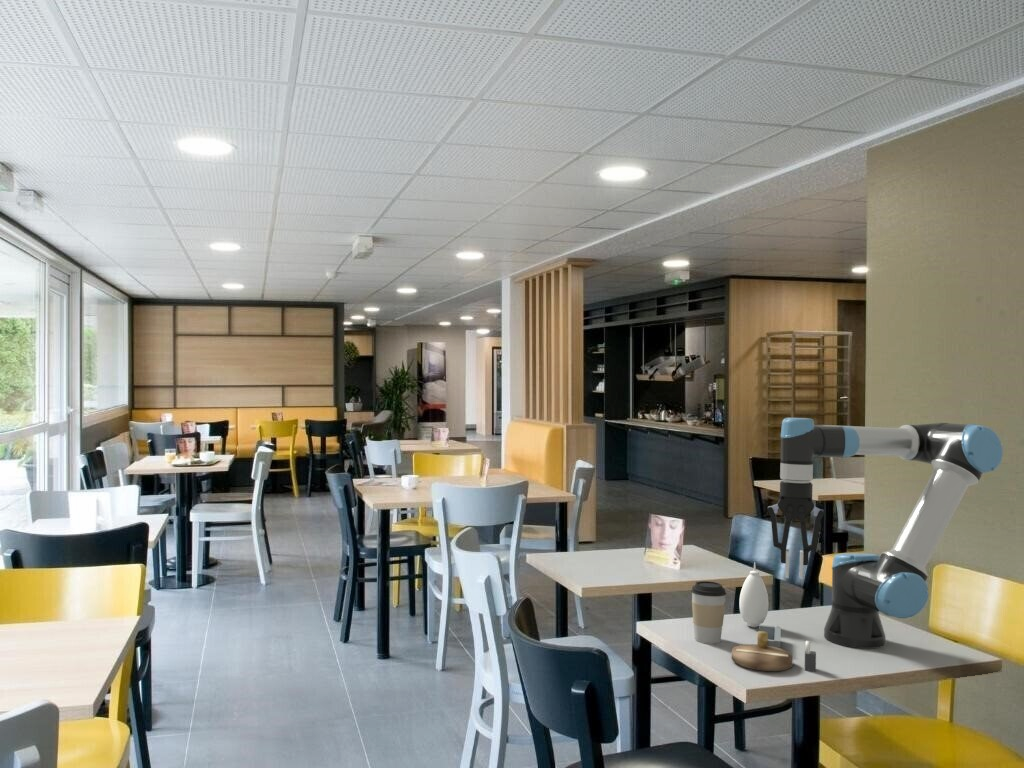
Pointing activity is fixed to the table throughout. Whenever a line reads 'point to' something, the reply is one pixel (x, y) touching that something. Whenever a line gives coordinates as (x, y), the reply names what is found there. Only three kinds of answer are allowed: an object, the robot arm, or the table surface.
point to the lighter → (810, 658)
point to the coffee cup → (708, 611)
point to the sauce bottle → (753, 599)
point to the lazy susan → (762, 655)
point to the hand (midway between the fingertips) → (794, 577)
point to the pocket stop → (772, 635)
